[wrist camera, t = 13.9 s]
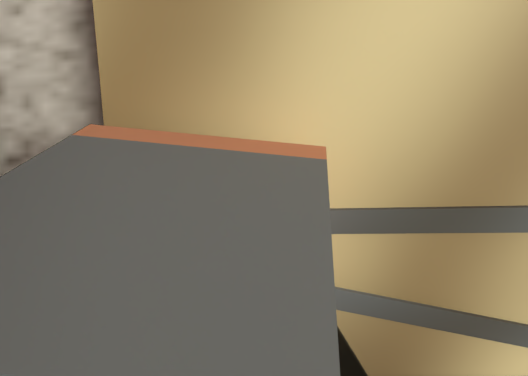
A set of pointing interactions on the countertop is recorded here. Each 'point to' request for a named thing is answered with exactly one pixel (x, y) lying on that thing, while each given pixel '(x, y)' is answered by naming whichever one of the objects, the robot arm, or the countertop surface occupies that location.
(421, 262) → the board
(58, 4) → the countertop surface
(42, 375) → the block
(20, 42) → the countertop surface
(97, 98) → the countertop surface
